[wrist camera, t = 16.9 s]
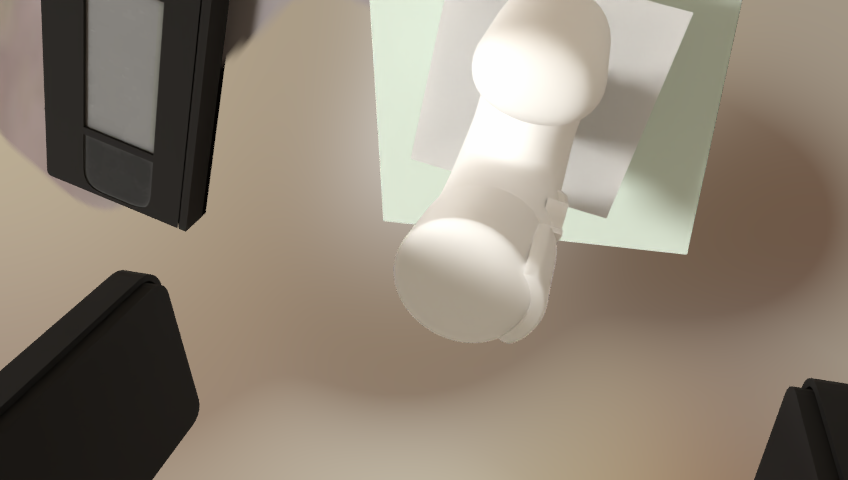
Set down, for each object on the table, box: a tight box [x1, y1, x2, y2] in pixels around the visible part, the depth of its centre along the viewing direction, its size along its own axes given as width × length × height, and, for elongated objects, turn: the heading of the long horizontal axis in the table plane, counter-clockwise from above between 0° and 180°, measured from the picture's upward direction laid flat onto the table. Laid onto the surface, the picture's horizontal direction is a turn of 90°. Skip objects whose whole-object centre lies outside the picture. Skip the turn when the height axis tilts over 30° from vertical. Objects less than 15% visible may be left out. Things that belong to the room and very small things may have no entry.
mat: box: [370, 0, 742, 254], centre depth 25 cm, size 15×13×1 cm
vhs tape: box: [41, 0, 229, 231], centre depth 30 cm, size 8×14×2 cm, turn 163°
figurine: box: [393, 0, 693, 344], centre depth 19 cm, size 7×9×15 cm
